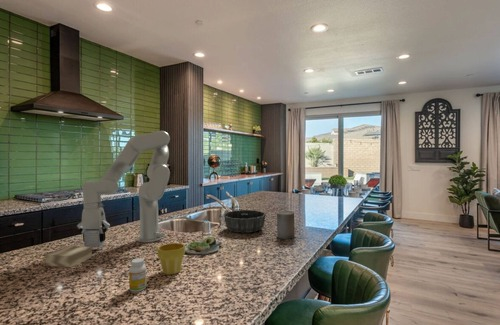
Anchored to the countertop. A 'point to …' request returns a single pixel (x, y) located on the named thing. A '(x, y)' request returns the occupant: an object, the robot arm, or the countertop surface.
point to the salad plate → (203, 246)
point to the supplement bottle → (137, 275)
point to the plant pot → (171, 257)
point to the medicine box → (92, 238)
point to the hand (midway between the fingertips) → (94, 241)
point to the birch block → (68, 256)
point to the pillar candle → (285, 224)
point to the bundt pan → (244, 220)
